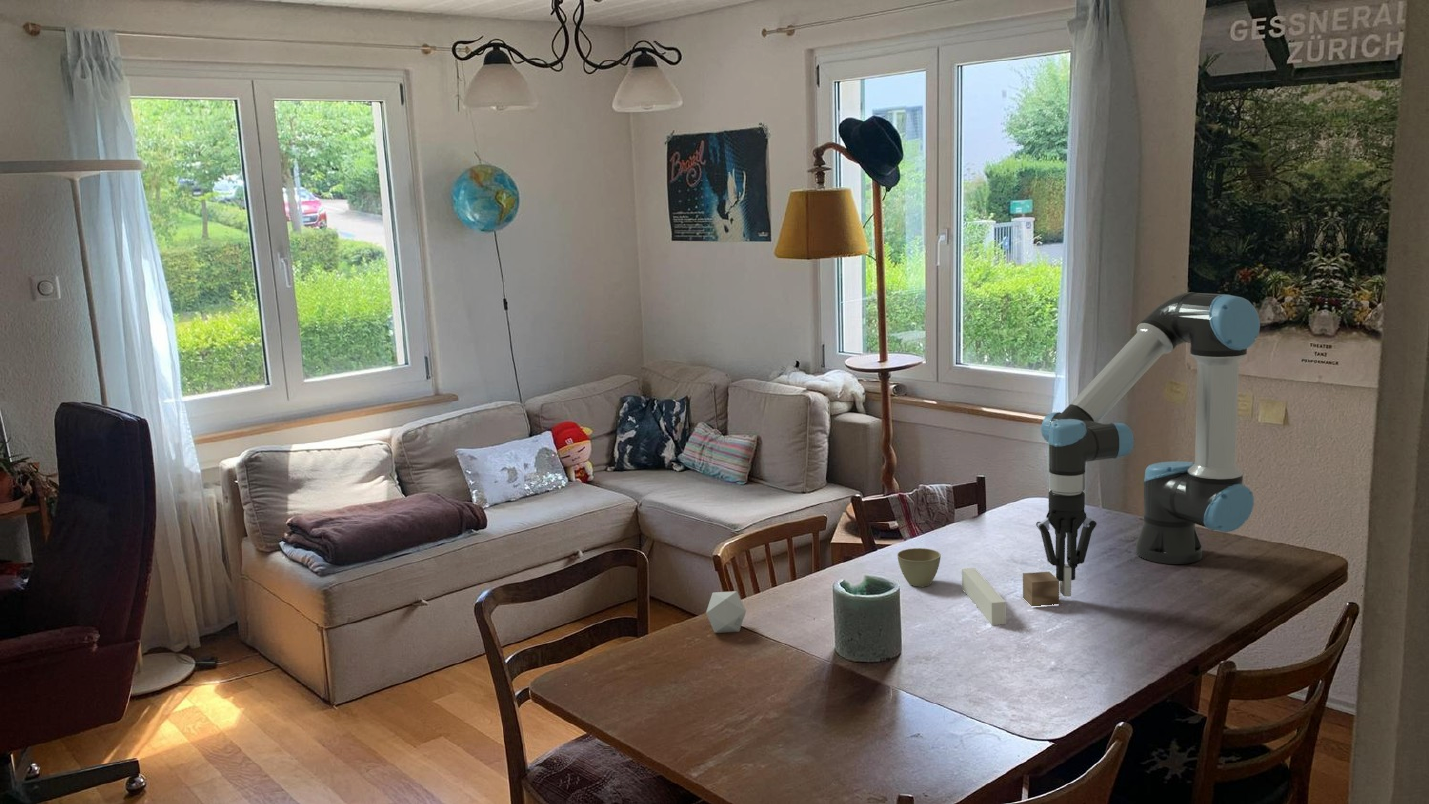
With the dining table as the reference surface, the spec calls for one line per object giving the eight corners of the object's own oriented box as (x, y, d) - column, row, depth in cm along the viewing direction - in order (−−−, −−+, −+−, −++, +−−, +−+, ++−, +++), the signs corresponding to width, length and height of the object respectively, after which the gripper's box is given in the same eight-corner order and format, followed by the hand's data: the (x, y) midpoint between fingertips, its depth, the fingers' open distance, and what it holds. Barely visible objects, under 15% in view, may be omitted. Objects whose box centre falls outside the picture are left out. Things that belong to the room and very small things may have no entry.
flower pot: (938, 576, 264) (938, 547, 262) (943, 590, 254) (942, 560, 253) (896, 576, 265) (896, 547, 263) (899, 591, 255) (898, 561, 254)
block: (1049, 597, 247) (1049, 571, 246) (1059, 606, 241) (1059, 580, 240) (1022, 598, 247) (1022, 573, 246) (1032, 608, 241) (1032, 582, 240)
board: (975, 588, 254) (975, 567, 253) (1006, 624, 232) (1006, 601, 232) (962, 589, 254) (961, 568, 253) (991, 625, 232) (991, 602, 231)
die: (733, 643, 231) (756, 601, 233) (695, 622, 232) (718, 580, 233) (732, 642, 239) (754, 601, 241) (696, 622, 240) (718, 581, 242)
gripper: (1089, 484, 244) (1087, 586, 248) (1031, 488, 243) (1030, 590, 247) (1103, 493, 236) (1101, 598, 240) (1043, 497, 236) (1042, 602, 240)
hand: (1065, 593), depth 244 cm, fingers closed
